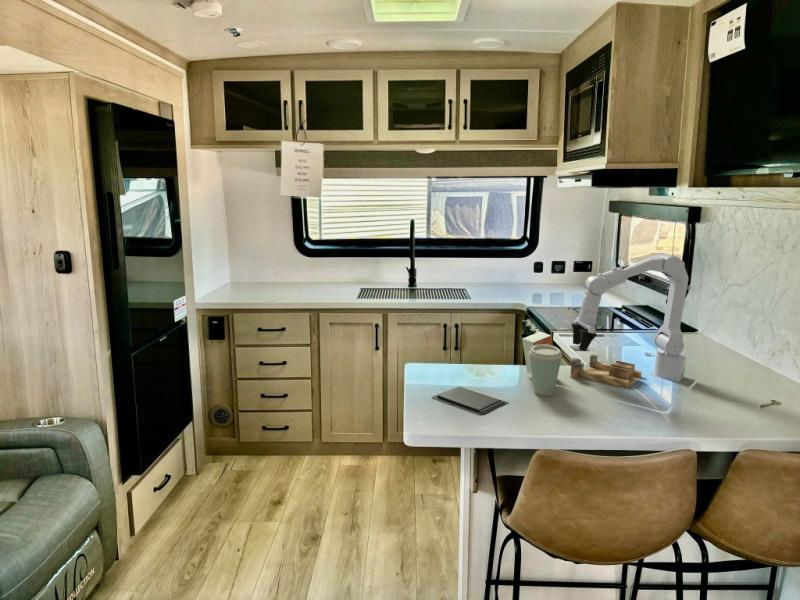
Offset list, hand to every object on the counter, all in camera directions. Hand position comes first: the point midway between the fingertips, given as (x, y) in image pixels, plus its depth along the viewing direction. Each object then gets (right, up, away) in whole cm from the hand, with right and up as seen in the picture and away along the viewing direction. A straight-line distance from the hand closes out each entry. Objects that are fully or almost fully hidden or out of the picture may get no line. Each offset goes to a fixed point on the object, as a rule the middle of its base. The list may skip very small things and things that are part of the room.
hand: (579, 347), depth 202 cm
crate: (+14, -11, -2) cm, 18 cm away
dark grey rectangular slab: (-41, -16, -22) cm, 50 cm away
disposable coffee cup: (-17, -14, -15) cm, 26 cm away
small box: (-14, -8, -1) cm, 16 cm away
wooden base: (+9, -11, 0) cm, 14 cm away
